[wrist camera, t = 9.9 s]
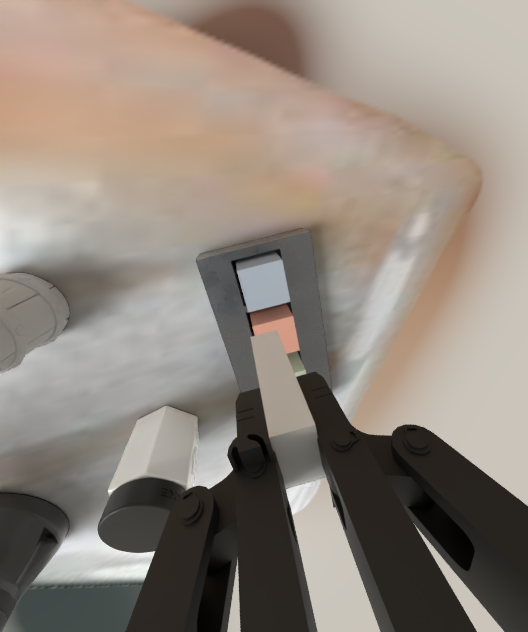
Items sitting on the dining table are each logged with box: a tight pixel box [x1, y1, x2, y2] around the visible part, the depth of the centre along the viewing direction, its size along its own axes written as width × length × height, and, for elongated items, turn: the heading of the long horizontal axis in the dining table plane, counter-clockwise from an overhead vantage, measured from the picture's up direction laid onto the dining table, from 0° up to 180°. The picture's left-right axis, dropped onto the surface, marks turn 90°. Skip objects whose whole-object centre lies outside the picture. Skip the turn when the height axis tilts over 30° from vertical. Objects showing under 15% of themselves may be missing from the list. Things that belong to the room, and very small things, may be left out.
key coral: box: [250, 303, 300, 354], centre depth 27 cm, size 4×4×4 cm
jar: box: [98, 406, 199, 553], centre depth 30 cm, size 9×8×12 cm
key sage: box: [287, 351, 306, 377], centre depth 28 cm, size 4×4×4 cm
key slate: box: [236, 250, 290, 313], centre depth 24 cm, size 4×4×4 cm
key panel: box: [196, 228, 333, 393], centre depth 30 cm, size 11×23×3 cm, turn 13°
